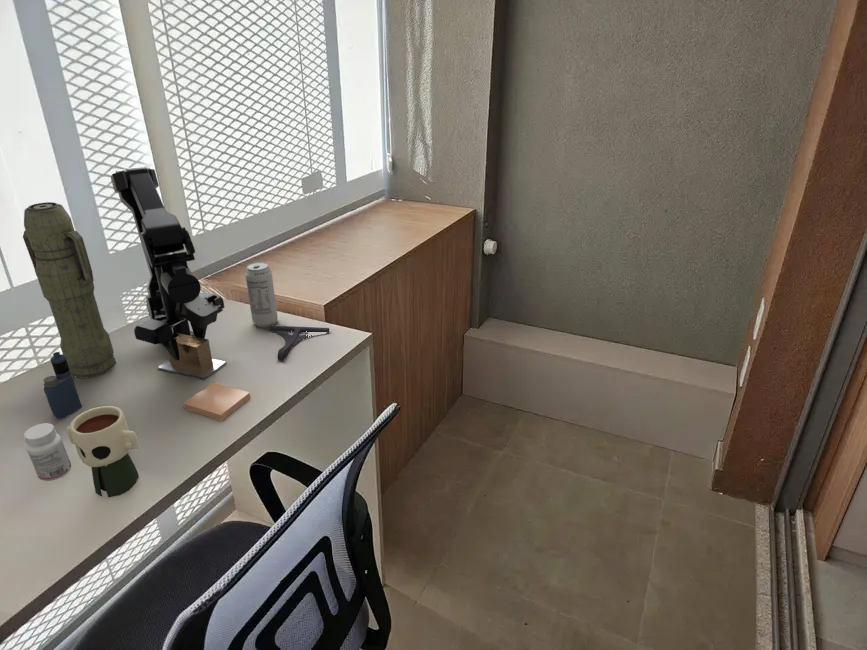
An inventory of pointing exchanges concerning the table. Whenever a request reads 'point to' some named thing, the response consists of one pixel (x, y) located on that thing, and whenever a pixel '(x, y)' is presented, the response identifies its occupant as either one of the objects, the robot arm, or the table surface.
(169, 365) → the block on grey plate
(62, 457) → the pill bottle
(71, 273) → the thermos
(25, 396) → the table surface
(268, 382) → the table surface
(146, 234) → the robot arm
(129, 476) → the character mug
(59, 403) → the vaping device
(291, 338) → the bracket
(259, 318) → the energy drink can
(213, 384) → the tile
